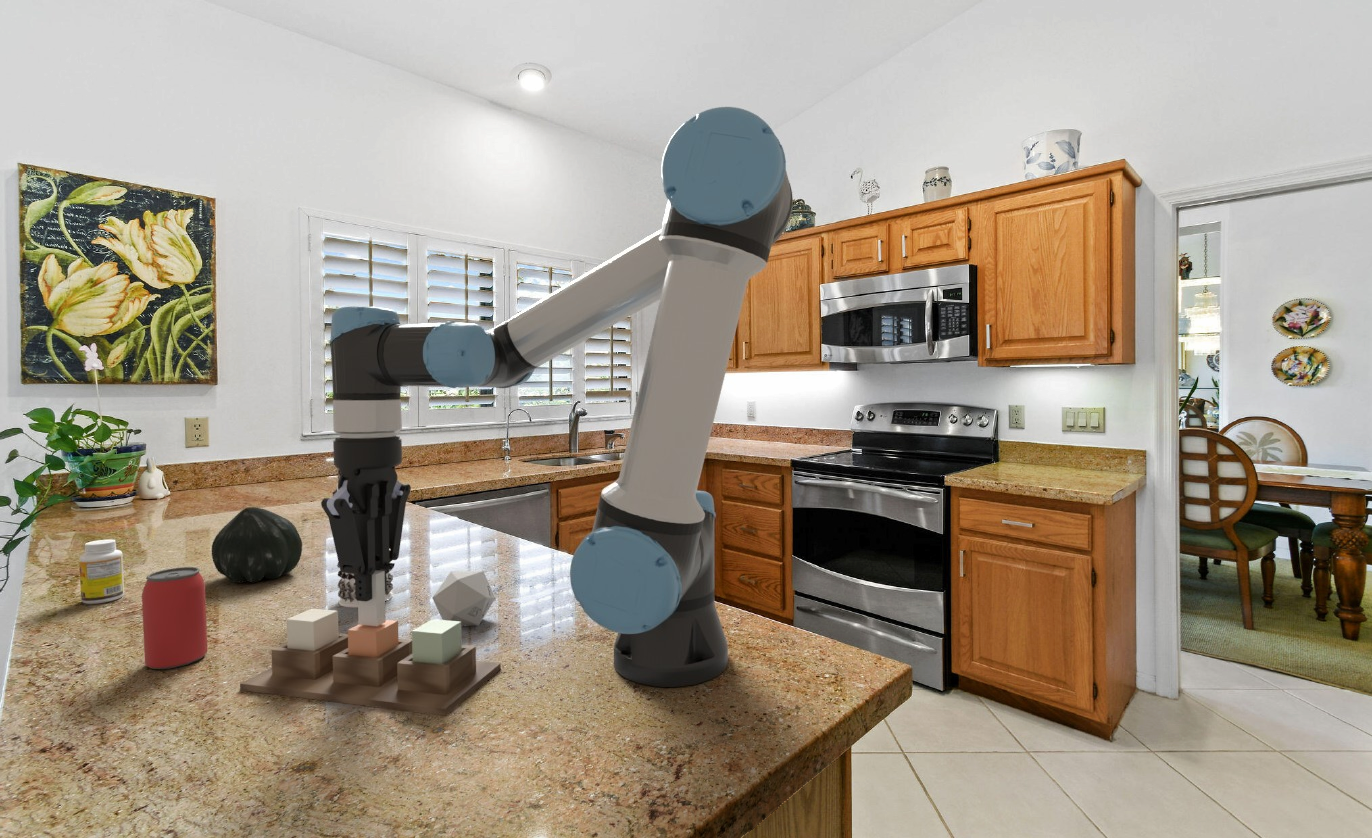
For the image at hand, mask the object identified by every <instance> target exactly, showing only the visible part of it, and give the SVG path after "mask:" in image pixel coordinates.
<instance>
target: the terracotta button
mask: <svg viewBox="0 0 1372 838" xmlns="http://www.w3.org/2000/svg"><path fill="white" fill-rule="evenodd" d="M385 621H386V622H385V623H383V624H381V625H379V626H369V625H359V624H357V625H355V626H353V627H350V628H349V629H347V634H348V655H357V656H367V657H376V658H377V657H379V656H381V655H382V654H384V653H386V652H387V651H389V650H391V649H393V648H394V647H396V646H398V645H399V639H400V638H399V620H392V619H385Z"/></svg>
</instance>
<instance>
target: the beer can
mask: <svg viewBox="0 0 1372 838" xmlns="http://www.w3.org/2000/svg"><path fill="white" fill-rule="evenodd" d="M200 571H201V570H200V568H198V567H194V566H185V567H183V566H182V567H174V568H167V569H163V570H157V571H155V572H151V573H150V574H148V575H147V576H146V581H145V584H144V586H143V589H142V594H141V599H142V600H141V605H142V627H143V648H144V649H143V651H144V664H145V665H146V666H147V667H148V668H149V669H153V670H167V669H168V670H170V669H174V668H175V669H176V668H180V667H184V666H187V665H189V664H192V663H195V662H197V661H199V660H200V659H202V658H204V656H205V655H206V654H207V652H208V629H207V627H208V626H207V608H206V607H207V604H206V582H205V581H204V577H203V576H202V574H201V572H200Z"/></svg>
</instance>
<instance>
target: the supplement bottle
mask: <svg viewBox="0 0 1372 838" xmlns="http://www.w3.org/2000/svg"><path fill="white" fill-rule="evenodd" d="M116 542H117V541H116V539H109V538H108V539H100V540H99V539H98V540H93V541H89V542H86V543H84V552H85V553H83V554H82V555H81V556H80V557H79V558H78V561H79V562H78V564H79V565H78V566H79V579H80V580H79V582H80V584H79V585H80V599H81V602H82V603H83V604H87V605H98V604H104V603H109V602H113V601H116V600H119V599H121V598H122V597H124V595H125V577H124V561H123V560H124V559H123V558H124V557H123V556H124V554H123V552H122V551H121V550H119V549H117V543H116Z"/></svg>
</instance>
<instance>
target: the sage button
mask: <svg viewBox="0 0 1372 838" xmlns="http://www.w3.org/2000/svg"><path fill="white" fill-rule="evenodd" d="M411 640H412V654H413V661H414V662H423V663H433V664H442V665H443V664H445V663H446V662H448V661H449V660H451V659H452V658H453V657H455V656H456V655H458V654H459V653H460V652H462V645H463V644H462V642H463V641H462V626H461V622H460V621H449V620H442V619H436V618H431V619H430V620H429V621H427V622H425V623H423V624H421V625H419V626H417V627H416V628H415V629H413V630H411Z"/></svg>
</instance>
